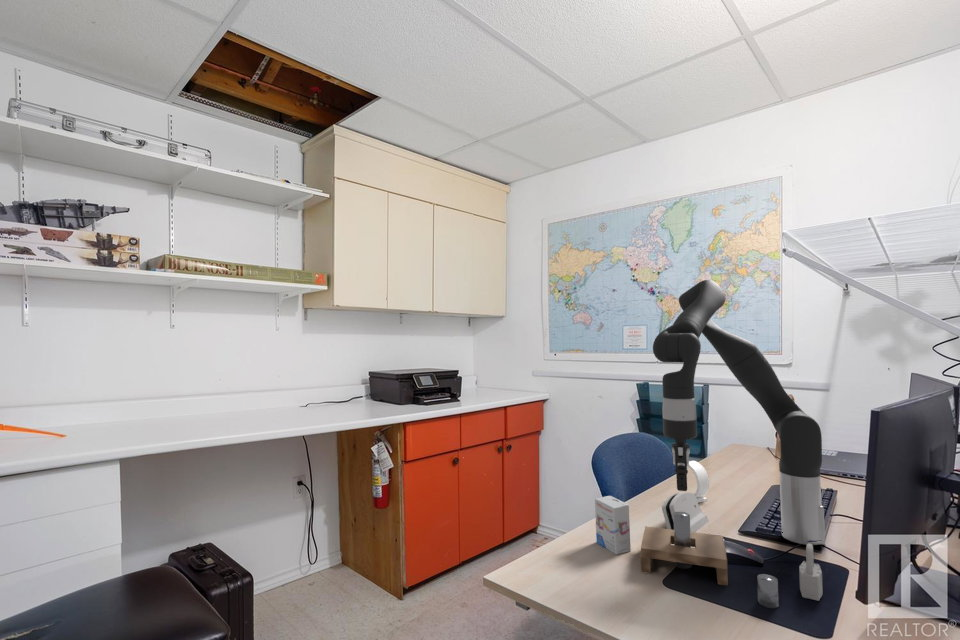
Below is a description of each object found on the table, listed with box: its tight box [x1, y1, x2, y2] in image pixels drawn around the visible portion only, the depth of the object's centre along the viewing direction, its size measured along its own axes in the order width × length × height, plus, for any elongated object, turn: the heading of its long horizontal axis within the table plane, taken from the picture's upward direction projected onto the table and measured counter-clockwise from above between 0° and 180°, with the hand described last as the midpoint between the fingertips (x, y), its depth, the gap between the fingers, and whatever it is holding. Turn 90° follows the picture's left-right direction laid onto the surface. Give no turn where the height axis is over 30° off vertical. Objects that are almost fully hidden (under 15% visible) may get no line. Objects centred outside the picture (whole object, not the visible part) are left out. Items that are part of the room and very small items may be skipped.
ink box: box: [594, 495, 632, 555], centre depth 130 cm, size 9×5×12 cm, turn 23°
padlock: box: [798, 543, 824, 602], centre depth 106 cm, size 7×4×10 cm, turn 144°
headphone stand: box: [687, 460, 710, 504], centre depth 164 cm, size 5×6×12 cm
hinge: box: [661, 491, 709, 532], centre depth 143 cm, size 17×5×10 cm, turn 136°
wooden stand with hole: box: [640, 526, 729, 586], centre depth 119 cm, size 18×14×6 cm
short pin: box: [756, 573, 779, 609], centre depth 102 cm, size 4×4×5 cm
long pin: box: [673, 512, 692, 570], centre depth 119 cm, size 4×4×12 cm
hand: (682, 485), depth 119 cm, fingers open, 8 cm apart
